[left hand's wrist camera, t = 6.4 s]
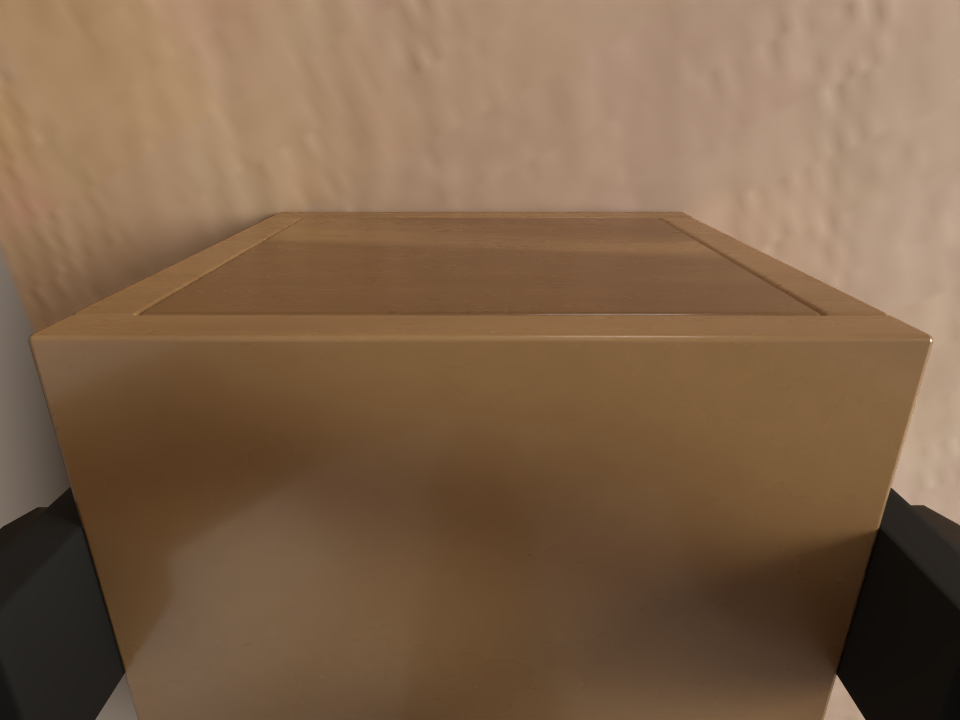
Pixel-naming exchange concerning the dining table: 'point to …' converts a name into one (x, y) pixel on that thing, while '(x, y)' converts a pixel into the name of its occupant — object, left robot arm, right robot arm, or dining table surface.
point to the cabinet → (480, 469)
